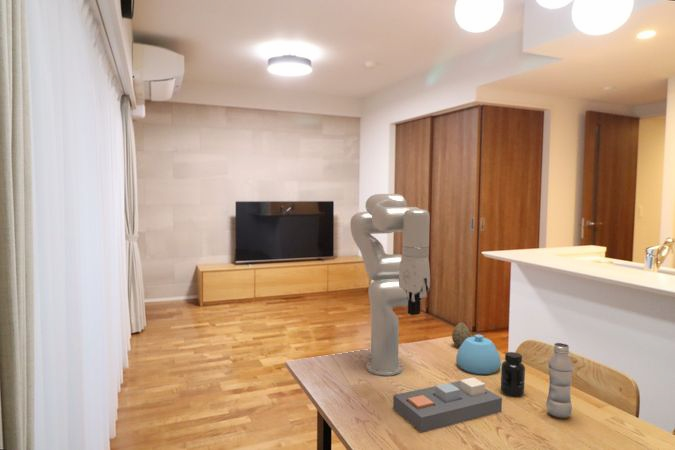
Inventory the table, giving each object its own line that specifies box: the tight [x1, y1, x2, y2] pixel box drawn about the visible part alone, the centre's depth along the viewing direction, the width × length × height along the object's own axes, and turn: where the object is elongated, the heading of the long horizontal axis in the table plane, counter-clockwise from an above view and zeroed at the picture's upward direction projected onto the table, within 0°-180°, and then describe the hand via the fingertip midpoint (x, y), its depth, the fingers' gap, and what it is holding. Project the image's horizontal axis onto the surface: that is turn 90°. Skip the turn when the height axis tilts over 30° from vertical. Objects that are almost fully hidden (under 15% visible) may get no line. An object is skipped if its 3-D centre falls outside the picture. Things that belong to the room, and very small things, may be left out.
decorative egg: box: [451, 321, 472, 348], centre depth 180 cm, size 7×7×10 cm
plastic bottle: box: [545, 342, 574, 419], centre depth 125 cm, size 6×7×20 cm
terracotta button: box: [408, 395, 434, 409], centre depth 125 cm, size 5×5×4 cm
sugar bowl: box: [455, 333, 502, 375], centre depth 160 cm, size 15×15×12 cm
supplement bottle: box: [500, 351, 526, 398], centre depth 140 cm, size 7×7×12 cm
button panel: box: [392, 380, 503, 433], centre depth 129 cm, size 14×27×4 cm, turn 114°
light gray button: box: [434, 382, 460, 403], centre depth 129 cm, size 5×5×4 cm
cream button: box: [459, 377, 486, 397], centre depth 132 cm, size 5×5×4 cm
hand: (413, 313), depth 133 cm, fingers closed
